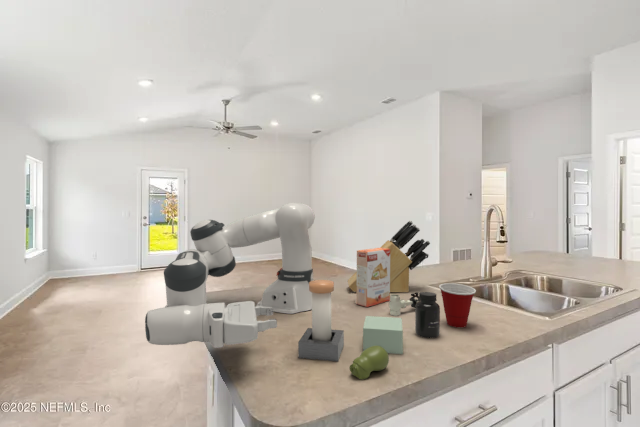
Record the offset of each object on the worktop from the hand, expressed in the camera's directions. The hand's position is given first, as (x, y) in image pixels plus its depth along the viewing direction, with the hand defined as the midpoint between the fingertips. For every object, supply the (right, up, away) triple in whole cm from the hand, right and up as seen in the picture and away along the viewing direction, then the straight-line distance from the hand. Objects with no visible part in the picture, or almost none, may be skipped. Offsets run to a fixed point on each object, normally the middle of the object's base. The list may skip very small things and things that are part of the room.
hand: (274, 316), depth 86 cm
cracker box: (+32, -9, +47) cm, 57 cm away
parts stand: (+29, -10, +7) cm, 31 cm away
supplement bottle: (+43, -10, +14) cm, 46 cm away
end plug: (+12, -10, +3) cm, 16 cm away
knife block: (+42, -8, +66) cm, 78 cm away
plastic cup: (+55, -9, +22) cm, 60 cm away
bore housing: (+12, -10, +3) cm, 16 cm away
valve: (+41, -9, +34) cm, 54 cm away
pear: (+23, -10, -8) cm, 26 cm away
